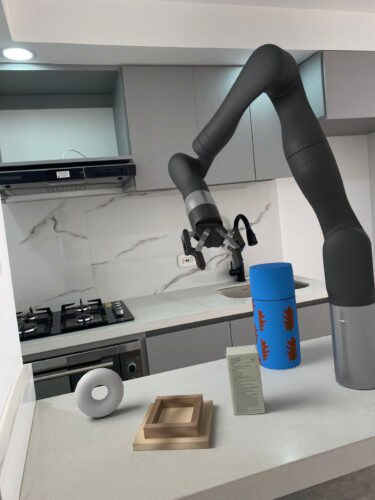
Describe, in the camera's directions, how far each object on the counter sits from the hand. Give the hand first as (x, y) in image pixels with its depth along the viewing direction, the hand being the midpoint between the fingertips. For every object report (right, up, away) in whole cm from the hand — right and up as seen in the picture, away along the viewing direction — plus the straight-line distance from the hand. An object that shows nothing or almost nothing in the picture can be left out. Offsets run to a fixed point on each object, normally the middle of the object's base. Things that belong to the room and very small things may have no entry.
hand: (221, 266), depth 78 cm
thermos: (+16, -25, +14) cm, 33 cm away
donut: (-25, -31, -4) cm, 40 cm away
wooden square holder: (-10, -29, -11) cm, 33 cm away
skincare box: (+4, -28, -8) cm, 29 cm away
